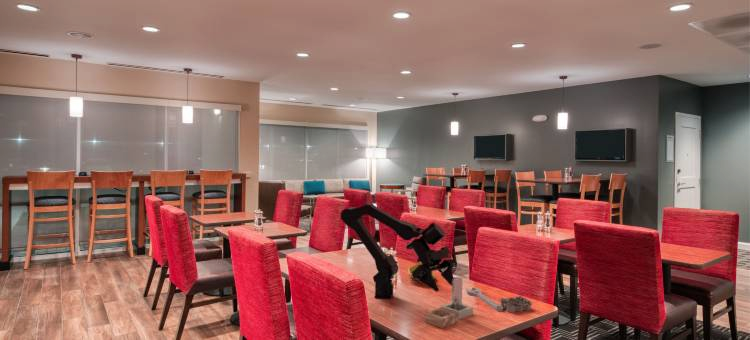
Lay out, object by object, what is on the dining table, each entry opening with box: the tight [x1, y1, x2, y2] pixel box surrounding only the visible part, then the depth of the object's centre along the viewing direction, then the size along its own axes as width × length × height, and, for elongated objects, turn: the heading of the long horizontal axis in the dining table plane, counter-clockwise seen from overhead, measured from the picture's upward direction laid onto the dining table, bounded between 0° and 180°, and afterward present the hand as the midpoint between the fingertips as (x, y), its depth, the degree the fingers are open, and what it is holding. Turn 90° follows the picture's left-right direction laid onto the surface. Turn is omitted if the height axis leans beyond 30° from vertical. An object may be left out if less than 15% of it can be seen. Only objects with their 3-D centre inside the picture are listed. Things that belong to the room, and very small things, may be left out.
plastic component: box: [407, 262, 436, 284], centre depth 205 cm, size 20×7×10 cm
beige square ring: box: [424, 307, 458, 329], centre depth 153 cm, size 8×7×3 cm
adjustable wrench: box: [465, 287, 504, 312], centre depth 176 cm, size 25×6×2 cm, turn 9°
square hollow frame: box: [440, 302, 474, 321], centre depth 161 cm, size 8×8×2 cm
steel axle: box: [450, 276, 463, 311], centre depth 161 cm, size 4×4×12 cm
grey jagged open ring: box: [498, 295, 534, 313], centre depth 168 cm, size 11×8×4 cm
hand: (446, 288), depth 164 cm, fingers open, 9 cm apart
